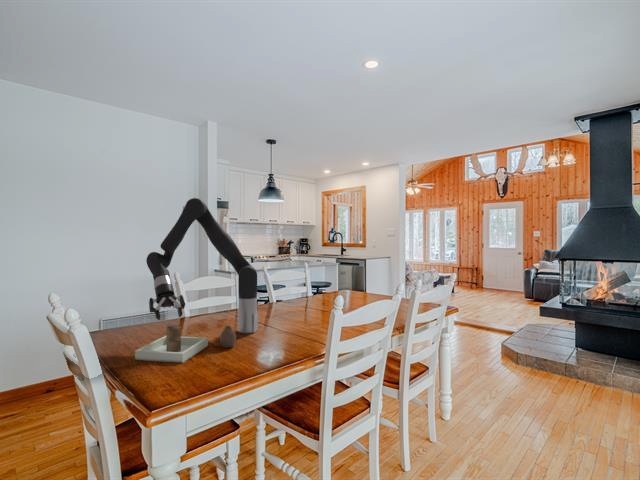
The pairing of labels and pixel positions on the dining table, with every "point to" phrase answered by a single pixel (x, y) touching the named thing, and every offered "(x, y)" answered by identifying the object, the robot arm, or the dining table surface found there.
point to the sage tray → (159, 352)
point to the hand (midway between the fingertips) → (170, 317)
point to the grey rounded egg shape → (227, 337)
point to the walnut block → (173, 338)
